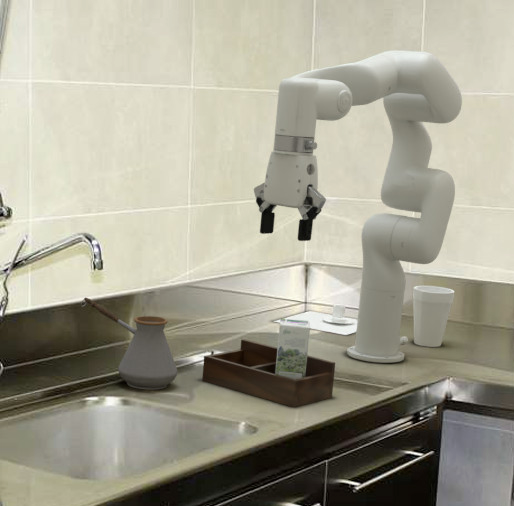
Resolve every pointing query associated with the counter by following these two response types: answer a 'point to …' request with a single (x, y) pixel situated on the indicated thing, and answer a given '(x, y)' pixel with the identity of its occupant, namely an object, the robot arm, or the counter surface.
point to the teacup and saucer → (328, 321)
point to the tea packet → (292, 348)
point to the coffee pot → (145, 352)
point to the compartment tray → (268, 375)
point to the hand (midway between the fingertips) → (284, 236)
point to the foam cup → (431, 314)
